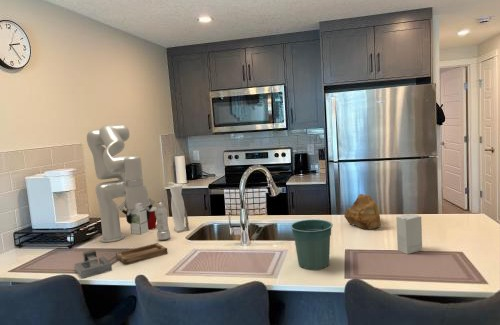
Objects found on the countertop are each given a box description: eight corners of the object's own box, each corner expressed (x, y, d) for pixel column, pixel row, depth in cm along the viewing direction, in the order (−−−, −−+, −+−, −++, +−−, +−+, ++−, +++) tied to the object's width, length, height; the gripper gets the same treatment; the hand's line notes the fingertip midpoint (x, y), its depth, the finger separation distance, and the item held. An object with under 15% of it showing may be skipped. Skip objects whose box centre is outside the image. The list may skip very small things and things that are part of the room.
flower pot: (325, 275, 140) (323, 232, 139) (285, 268, 149) (283, 228, 147) (340, 260, 154) (338, 221, 153) (303, 255, 163) (300, 218, 161)
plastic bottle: (167, 241, 197) (164, 203, 195) (155, 241, 198) (151, 203, 196) (172, 237, 203) (169, 200, 201) (160, 237, 205) (157, 201, 203)
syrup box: (148, 231, 177) (146, 200, 176) (141, 235, 171) (138, 203, 170) (138, 231, 179) (136, 200, 178) (130, 234, 173) (127, 203, 172)
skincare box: (412, 247, 163) (411, 213, 162) (423, 251, 157) (422, 215, 156) (396, 250, 160) (395, 215, 159) (407, 254, 155) (405, 218, 153)
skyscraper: (175, 233, 212) (170, 183, 209) (171, 230, 219) (166, 181, 216) (189, 230, 215) (185, 181, 213) (185, 227, 223) (180, 180, 220)
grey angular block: (83, 262, 173) (82, 252, 172) (95, 259, 176) (94, 250, 175) (88, 267, 166) (87, 257, 165) (100, 264, 168) (99, 254, 168)
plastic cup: (157, 229, 221) (155, 209, 220) (139, 231, 221) (137, 210, 220) (162, 225, 232) (160, 205, 231) (144, 226, 232) (142, 206, 231)
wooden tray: (116, 258, 176) (115, 253, 176) (157, 247, 187) (157, 242, 187) (124, 265, 166) (124, 259, 166) (167, 253, 178) (167, 248, 177)
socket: (75, 270, 164) (74, 263, 164) (104, 263, 171) (103, 256, 171) (81, 278, 154) (80, 271, 154) (112, 270, 161) (111, 263, 161)
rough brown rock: (342, 221, 214) (339, 195, 212) (372, 217, 212) (369, 191, 210) (350, 235, 191) (346, 206, 189) (384, 230, 189) (380, 201, 187)
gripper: (117, 187, 165) (122, 226, 167) (156, 181, 175) (159, 218, 177) (112, 185, 171) (117, 224, 173) (150, 180, 181) (153, 216, 183)
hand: (138, 221), depth 175 cm, fingers closed on syrup box, 7 cm apart
